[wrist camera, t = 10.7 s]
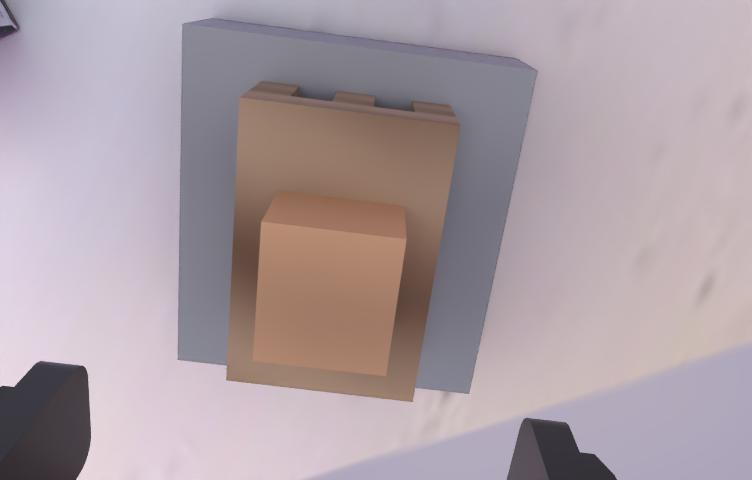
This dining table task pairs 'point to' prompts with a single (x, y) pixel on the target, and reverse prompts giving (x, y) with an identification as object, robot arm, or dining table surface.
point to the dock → (391, 90)
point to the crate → (328, 282)
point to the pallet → (349, 181)
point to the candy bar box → (6, 21)
